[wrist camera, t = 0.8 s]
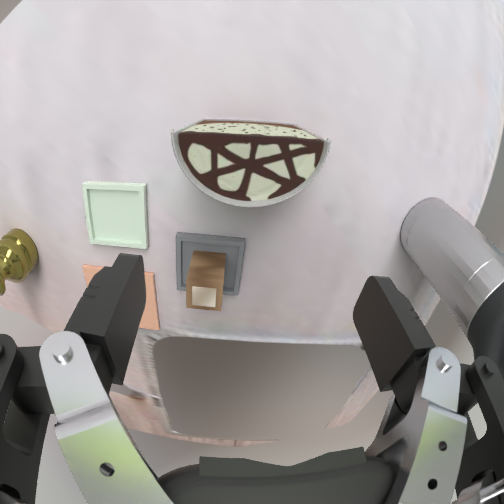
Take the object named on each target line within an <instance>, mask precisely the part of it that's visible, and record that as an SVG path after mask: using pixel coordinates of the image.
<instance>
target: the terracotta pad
mask: <svg viewBox="0 0 504 504" xmlns="http://www.w3.org/2000/svg"><path fill="white" fill-rule="evenodd" d="M102 268H104V267H99V266H91V265H84V266H83V271H84V275H85V279H86V283H87V287H88V285H89V283H90V281H91V279H92V278H93V276H94V275H95V274H96V273H97V272H99V271H100V270H101V269H102ZM144 274H145V284H146V304H145V309H144V312H143V315H142V318H141V321H140V325H139V328H145V329H152V330H159V329H160V325H159V317H158V309H157V300H156V291H155V281H154V273H149V272H144Z"/></svg>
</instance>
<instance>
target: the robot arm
mask: <svg viewBox="0 0 504 504" xmlns="http://www.w3.org/2000/svg"><path fill="white" fill-rule="evenodd" d="M401 243H402V246H403V248H404V249H405V250H406V252H407V253H408V254H409V256H410V257H411V258H412V259H413V261H414V262H415V263H416V265H417V266H418V267H419V269H420V270H421V271H422V273H423V274H424V275H425V277H426V278H427V279H428V281H429V282H430V283H431V285H432V286H433V288H434V289H435V290H436V292H437V293H438V295H439V296H440V297H441V299H442V300H443V302H444V303H445V305H446V306H447V307H448V309H449V310H450V312H451V314H452V315H453V316H454V318H455V319H456V321H457V323H458V324H459V326H460V327H461V329H462V330H463V332H464V334H465V335H466V337H467V338H468V340H469V342H470V344H471V345H472V347H473V351H474V362H473V364H472V365H466V364H460V363H459V361H458V359H457V358H456V356H455V355H454V354H453V353H452V352H451V351H449V350H447V349H445V348H442V347H436V346H435V344H434V342H433V340H432V339H431V337H430V335H429V333H428V332H427V330H426V328H425V326H424V325H423V323H422V321H421V320H420V319H419V316H418V315H417V313H416V311H414V308H413V306H412V305H411V303H410V302H409V300H408V299H407V298H406V297H405V296H404V295H403V294H402V293H401V292H400V291H398V289H397V288H396V286H395V285H394V283H393V282H392V280H391V279H390V278H389V277H380V276H370V277H369V278H368V279H367V281H366V283H365V285H364V287H363V289H362V292H361V294H360V296H359V298H358V300H357V302H356V305H355V307H354V311H353V320H354V324H355V326H356V329H357V331H358V334H359V336H360V339H361V341H362V344H363V346H364V349H365V351H366V354H367V356H368V359H369V361H370V364H371V367H372V370H373V372H374V375H375V378H376V381H377V383H378V386H379V389H380V392H383V391H389V390H393V392H394V395H393V396H392V397H391V398H390V400H389V403H388V406H387V409H386V412H385V415H384V417H383V420H382V422H381V425H380V427H379V430H378V433H377V435H376V437H375V439H374V441H373V442H372V444H371V445H370V446H369V447H368V449H367V450H366V451H365V452H364V448H363V447H359V448H354V449H348V450H342V451H336V452H329V453H326V454H324V455H322V456H318V457H316V458H313V459H310V460H308V461H305V462H302V463H299V464H296V465H293V466H280V465H274V464H268V463H263V462H258V461H253V460H249V459H244V458H215V457H200V462H199V464H195V465H189V466H185V467H181V468H178V469H175V470H173V471H170V472H169V473H166V474H164V475H162V476H161V477H159V478H158V476H157V475H156V474H155V472H154V471H153V469H152V468H151V466H150V465H149V464H148V462H147V460H146V459H145V457H144V456H143V454H142V453H141V451H140V450H139V448H138V447H137V445H136V443H135V442H134V440H133V438H132V437H131V435H130V433H129V432H128V430H127V428H126V426H125V425H124V423H123V421H122V419H121V417H120V415H119V413H118V412H117V410H116V408H115V406H114V404H113V402H112V400H111V398H110V396H109V391H110V388H111V384H112V383H113V384H118V385H123V381H124V377H125V373H126V370H127V366H128V362H129V359H130V355H131V352H132V348H133V345H134V341H135V338H136V334H137V331H138V328H139V325H140V321H141V318H142V315H143V312H144V309H145V304H146V284H145V274H144V264H143V257H142V256H141V255H133V254H123V253H120V254H119V255H118V257H117V259H116V261H115V262H114V264H113V266H112V267H106V266H105V267H104V268H102V269H101V270H100V271H99V272H97V273H96V274H95V275H94V276H93V278H92V279H91V281H90V283H89V285H88V288H86V290H85V292H84V293H83V297H81V299H80V301H79V302H78V304H77V306H76V308H75V310H74V312H73V314H72V316H71V318H70V319H69V321H68V323H67V325H66V327H65V329H64V331H61V332H57V333H54V334H52V335H51V336H49V337H48V338H47V339H46V340H45V341H44V342H43V344H42V346H35V347H17V345H16V343H15V342H14V340H13V339H12V338H11V337H10V336H8V335H6V334H0V504H35V495H36V487H37V479H38V472H39V465H40V459H41V454H42V448H43V442H44V438H45V433H46V429H47V425H48V421H49V417H50V414H56V418H57V424H55V426H54V427H55V434H56V437H57V440H58V442H59V445H60V447H61V450H62V452H63V455H64V457H65V459H66V461H67V464H68V466H69V468H70V470H71V472H72V474H73V476H74V478H75V481H76V482H77V484H78V486H79V488H80V490H81V492H82V494H83V496H84V498H85V499H86V501H87V503H88V504H450V502H451V499H452V496H453V492H454V489H456V493H457V499H458V500H455V501H454V502H452V504H504V254H503V253H502V252H501V251H500V250H499V249H498V248H497V247H496V246H495V245H494V244H493V243H492V242H491V241H490V240H489V239H488V238H486V236H484V235H483V234H482V233H481V232H480V231H479V230H478V229H477V228H475V227H474V226H473V225H472V224H471V223H470V222H468V221H467V220H466V219H465V218H464V217H462V216H461V215H460V214H459V213H458V212H456V211H455V210H454V209H453V208H451V207H450V206H449V205H448V204H446V203H445V202H444V201H442V200H440V199H437V198H430V199H426V200H424V201H422V202H420V203H418V204H417V205H416V206H414V208H413V209H412V210H411V211H410V212H409V213H408V215H407V216H406V218H405V220H404V222H403V225H402V229H401ZM10 401H11V402H10ZM477 403H479V406H480V408H481V411H482V413H483V416H484V419H485V421H486V423H487V431H486V434H485V435H484V436H483V437H482V438H481V439H480V440H478V439H477V437H476V434H475V431H474V428H473V426H472V423H471V420H470V417H469V415H468V411H469V410H470V409H471V408H472V407H473V406H475V405H476V404H477ZM9 404H10V405H9ZM7 411H8V412H7ZM6 414H7V415H6ZM5 417H6V418H5ZM4 421H5V422H4Z"/></svg>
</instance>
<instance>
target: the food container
mask: <svg viewBox="0 0 504 504" xmlns="http://www.w3.org/2000/svg"><path fill="white" fill-rule="evenodd" d="M171 141H172V147H173V151H174V155H175V157H176V159H177V162H178V164H179V166H180V168H181V169H182V171H183V172H184V174H185V175H186V177H187V178H188V179H189V180H190V181H191V182H192V183H193V185H195V186H196V187H197V188H198V189H199V190H201V191H202V192H203V193H205V194H207V195H208V196H210V197H211V198H213V199H216V200H218V201H220V202H223V203H226V204H230V205H234V206H241V207H261V206H268V205H272V204H275V203H279V202H282V201H284V200H286V199H288V198H290V197H292V196H294V195H295V194H297V193H298V192H300V191H301V190H303V189H304V188H305V187H306V186H307V185H308V184H309V183H310V182H311V181H312V180H313V179H314V178H315V176H316V175H317V174H318V173H319V171H320V169H321V168H322V166H323V164H324V162H325V160H326V157H327V155H328V152H329V148H330V144H331V141H330V139H328V138H327V140H325V139H323V138H321V137H319V136H317V135H315V134H313V133H311V132H309V131H307V130H305V129H303V128H301V127H299V126H297V125H295V124H289V123H279V122H267V121H253V120H232V119H202V120H200V121H198V122H195V123H193V124H191V125H189V126H186V127H184V128H182V129H180V130H178V131H176V132H174V130H171Z"/></svg>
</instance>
